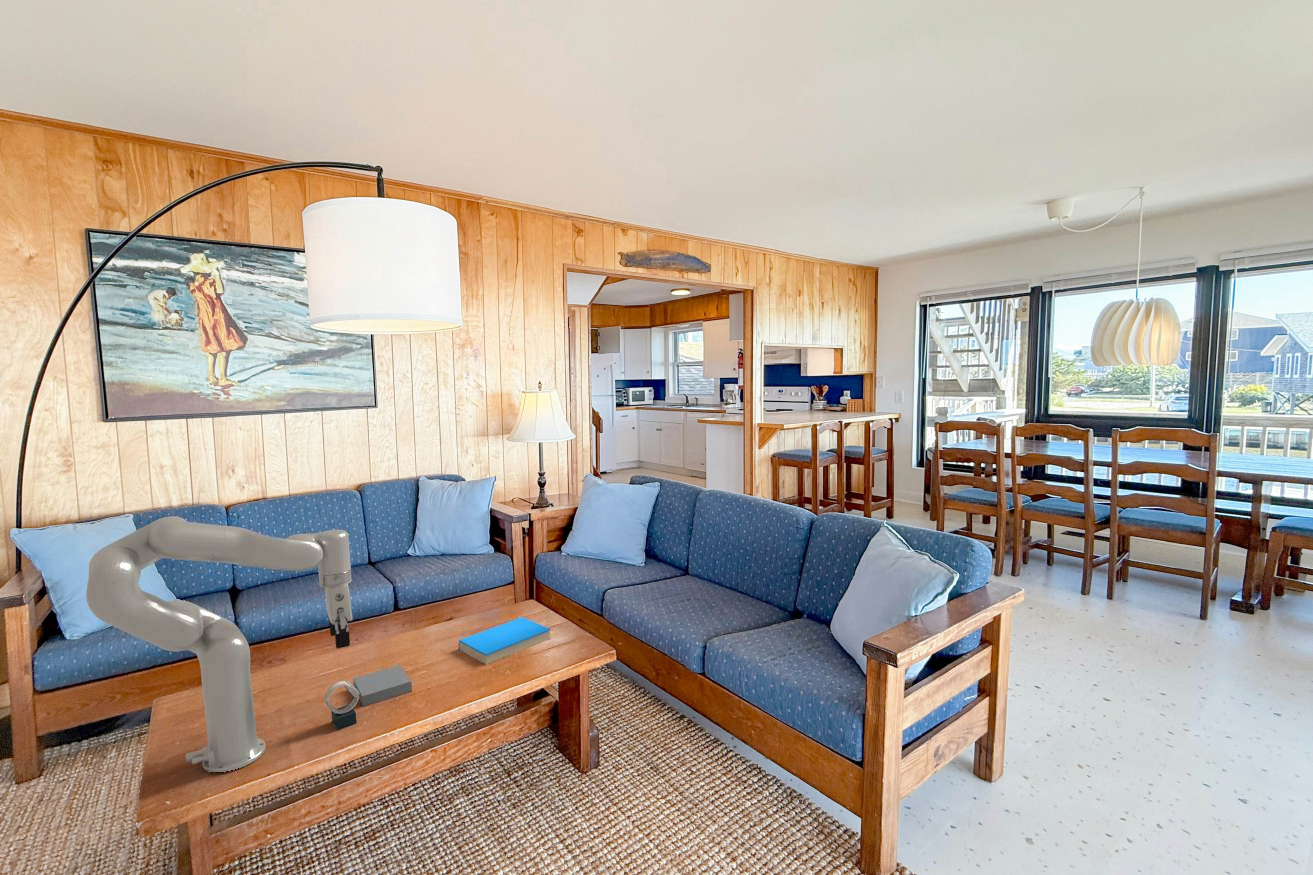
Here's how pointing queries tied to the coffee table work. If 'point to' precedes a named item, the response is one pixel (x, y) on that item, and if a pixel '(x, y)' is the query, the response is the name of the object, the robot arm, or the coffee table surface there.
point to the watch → (346, 713)
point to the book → (504, 640)
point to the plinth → (382, 685)
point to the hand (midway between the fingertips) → (340, 640)
